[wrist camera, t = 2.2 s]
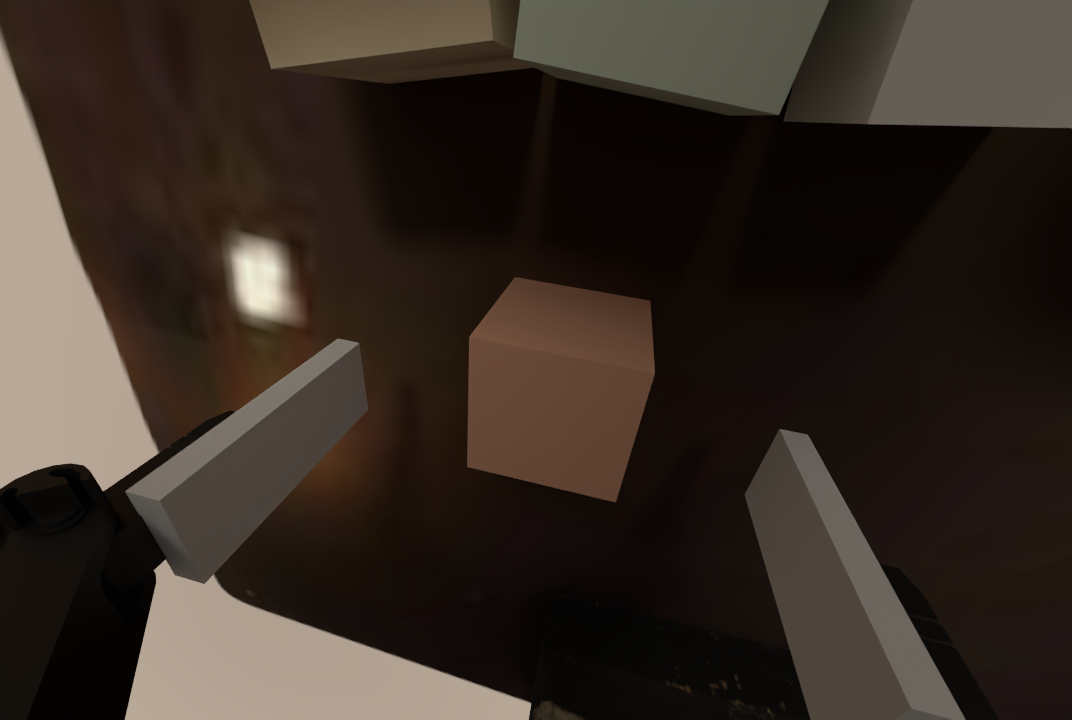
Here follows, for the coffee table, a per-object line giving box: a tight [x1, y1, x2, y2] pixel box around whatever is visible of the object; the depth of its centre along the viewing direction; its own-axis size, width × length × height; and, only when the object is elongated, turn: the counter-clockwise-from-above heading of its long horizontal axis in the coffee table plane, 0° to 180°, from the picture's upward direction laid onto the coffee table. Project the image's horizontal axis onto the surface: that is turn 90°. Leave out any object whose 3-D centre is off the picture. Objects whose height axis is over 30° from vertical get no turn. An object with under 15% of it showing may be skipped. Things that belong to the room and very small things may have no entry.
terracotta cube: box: [467, 277, 655, 502], centre depth 14 cm, size 5×5×5 cm
